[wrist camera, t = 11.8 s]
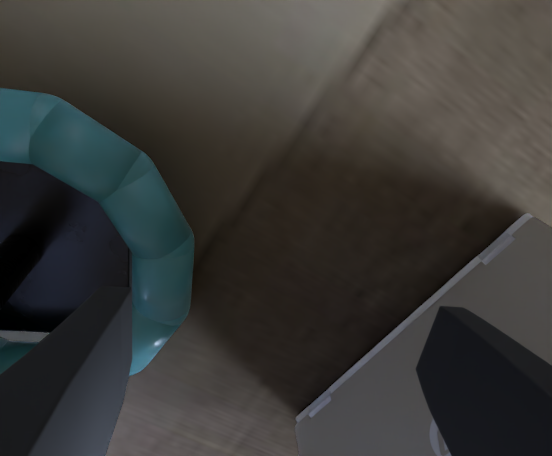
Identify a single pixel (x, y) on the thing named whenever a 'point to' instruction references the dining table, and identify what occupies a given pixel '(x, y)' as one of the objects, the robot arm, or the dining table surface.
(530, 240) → the laptop
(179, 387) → the dining table surface
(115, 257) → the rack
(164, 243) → the teal segmented ring
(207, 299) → the dining table surface
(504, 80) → the dining table surface
